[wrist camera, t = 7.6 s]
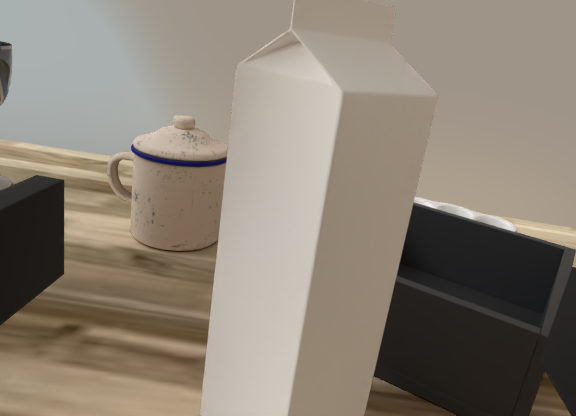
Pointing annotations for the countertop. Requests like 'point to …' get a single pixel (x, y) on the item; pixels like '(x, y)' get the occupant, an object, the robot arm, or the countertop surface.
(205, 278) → the countertop surface
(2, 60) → the wine glass
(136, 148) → the teacup with lid
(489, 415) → the tray
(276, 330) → the milk
